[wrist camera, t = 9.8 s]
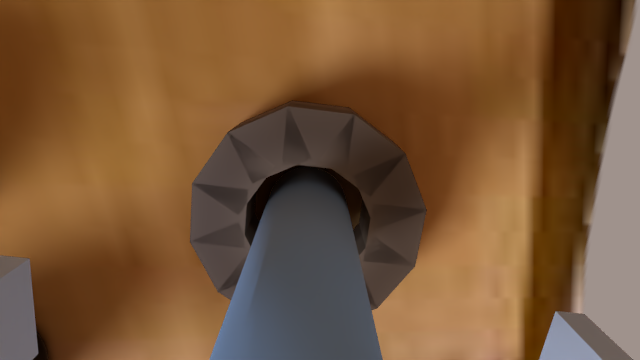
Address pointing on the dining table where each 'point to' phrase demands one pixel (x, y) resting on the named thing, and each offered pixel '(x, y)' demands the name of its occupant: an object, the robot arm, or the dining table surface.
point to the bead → (318, 151)
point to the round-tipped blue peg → (301, 280)
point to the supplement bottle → (41, 349)
